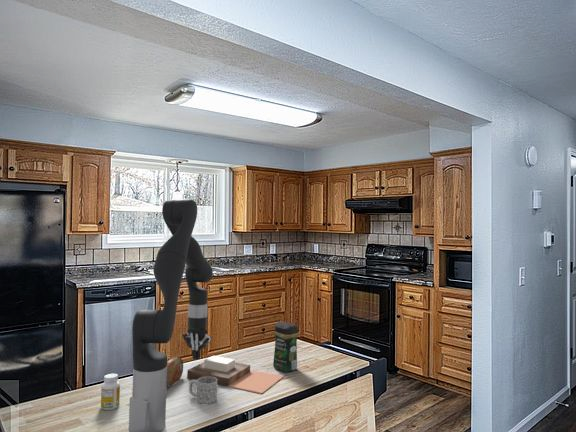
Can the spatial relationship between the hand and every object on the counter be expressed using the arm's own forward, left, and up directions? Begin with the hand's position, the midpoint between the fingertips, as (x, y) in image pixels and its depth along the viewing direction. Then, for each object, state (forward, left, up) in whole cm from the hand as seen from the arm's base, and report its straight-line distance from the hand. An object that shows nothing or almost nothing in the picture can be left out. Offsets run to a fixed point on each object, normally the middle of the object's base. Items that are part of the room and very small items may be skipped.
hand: (196, 359), depth 168 cm
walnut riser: (0, -11, -4) cm, 12 cm away
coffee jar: (+19, -30, -5) cm, 36 cm away
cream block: (0, -11, -2) cm, 11 cm away
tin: (-15, 0, -5) cm, 16 cm away
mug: (-21, -18, -5) cm, 28 cm away
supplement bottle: (-39, +4, -5) cm, 40 cm away
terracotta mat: (+1, -27, -4) cm, 27 cm away
